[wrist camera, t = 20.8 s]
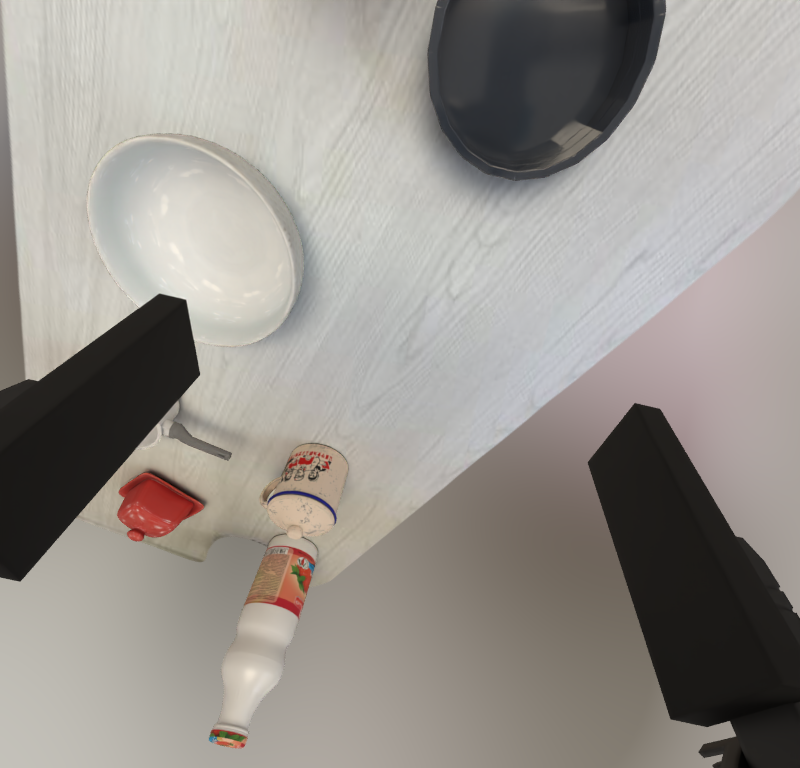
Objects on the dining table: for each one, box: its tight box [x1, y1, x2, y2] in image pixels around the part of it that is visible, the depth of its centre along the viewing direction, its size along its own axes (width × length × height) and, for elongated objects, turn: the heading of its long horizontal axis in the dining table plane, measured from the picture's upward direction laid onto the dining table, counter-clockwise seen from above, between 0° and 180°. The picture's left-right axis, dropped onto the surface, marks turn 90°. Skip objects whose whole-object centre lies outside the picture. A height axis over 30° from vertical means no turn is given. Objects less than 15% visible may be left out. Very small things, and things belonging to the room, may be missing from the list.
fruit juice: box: [209, 534, 318, 748], centre depth 63 cm, size 9×9×28 cm
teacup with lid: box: [259, 444, 348, 540], centre depth 53 cm, size 12×9×12 cm
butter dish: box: [117, 473, 204, 541], centre depth 64 cm, size 12×12×8 cm
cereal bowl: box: [87, 134, 304, 347], centre depth 34 cm, size 17×17×7 cm
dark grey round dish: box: [428, 0, 666, 181], centre depth 25 cm, size 13×13×4 cm
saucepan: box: [136, 401, 232, 461], centre depth 50 cm, size 12×20×6 cm, turn 66°
